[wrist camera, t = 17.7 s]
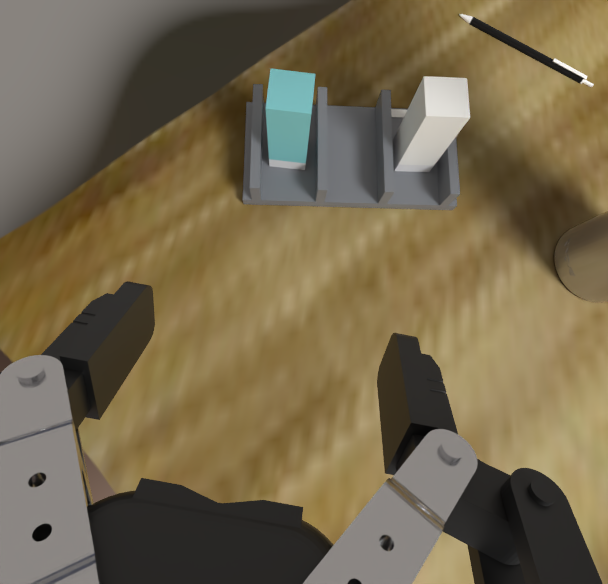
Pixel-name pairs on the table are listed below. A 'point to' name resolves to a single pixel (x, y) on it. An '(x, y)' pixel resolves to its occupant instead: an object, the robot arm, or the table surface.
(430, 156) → the white rectangular block
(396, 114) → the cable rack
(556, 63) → the pen
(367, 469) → the table surface
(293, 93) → the teal plug
